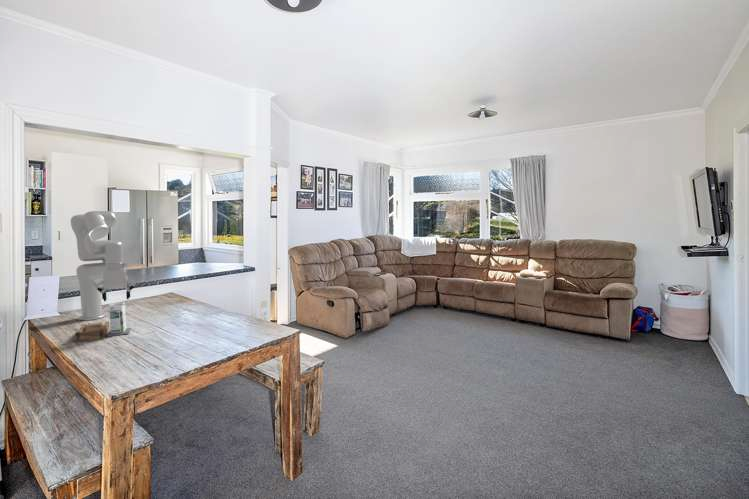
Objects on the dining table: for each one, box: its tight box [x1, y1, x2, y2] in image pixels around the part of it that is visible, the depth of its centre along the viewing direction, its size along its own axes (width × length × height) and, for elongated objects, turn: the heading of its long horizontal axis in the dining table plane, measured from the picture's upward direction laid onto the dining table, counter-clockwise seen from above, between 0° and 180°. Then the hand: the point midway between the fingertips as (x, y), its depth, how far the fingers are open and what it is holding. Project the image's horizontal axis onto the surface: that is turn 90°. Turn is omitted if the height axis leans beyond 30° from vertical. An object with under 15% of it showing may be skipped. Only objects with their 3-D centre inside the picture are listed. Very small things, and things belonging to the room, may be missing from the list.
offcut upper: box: [86, 321, 104, 330], centre depth 195 cm, size 5×6×2 cm
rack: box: [75, 321, 110, 343], centre depth 191 cm, size 16×11×4 cm
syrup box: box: [108, 302, 127, 333], centre depth 195 cm, size 6×6×14 cm
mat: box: [106, 327, 132, 337], centre depth 196 cm, size 10×9×1 cm
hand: (116, 299), depth 194 cm, fingers open, 9 cm apart
